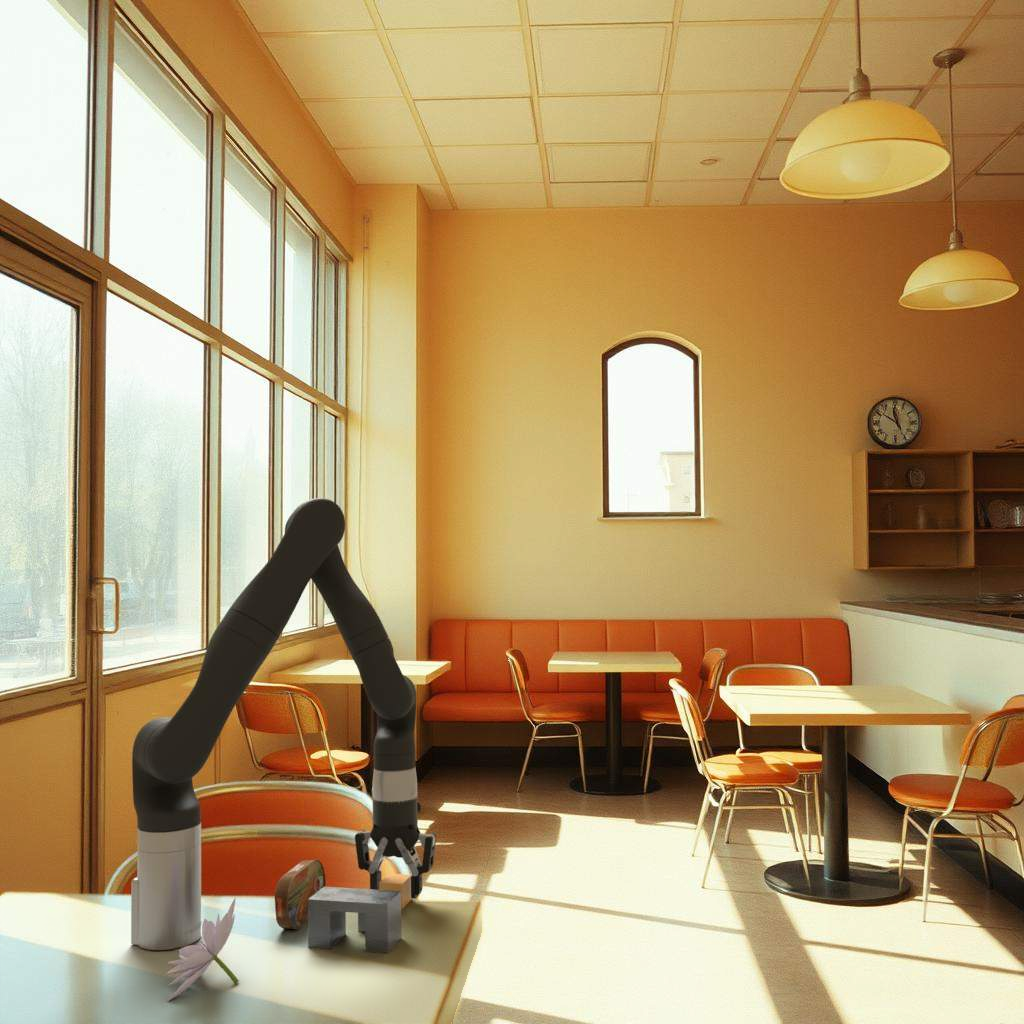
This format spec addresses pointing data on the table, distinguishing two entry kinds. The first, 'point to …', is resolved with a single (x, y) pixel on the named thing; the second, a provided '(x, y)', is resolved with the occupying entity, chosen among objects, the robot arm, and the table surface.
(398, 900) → the housing
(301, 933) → the table surface
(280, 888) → the tin
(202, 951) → the water lily
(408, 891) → the plug
